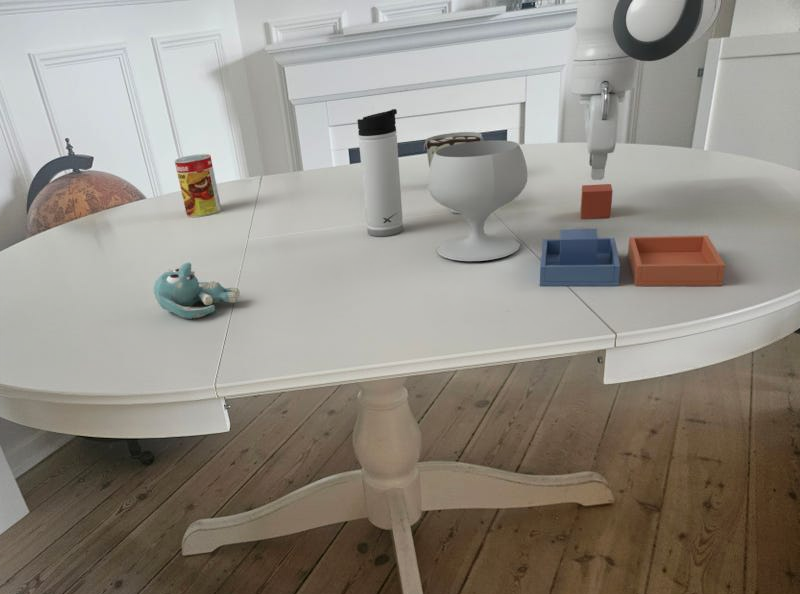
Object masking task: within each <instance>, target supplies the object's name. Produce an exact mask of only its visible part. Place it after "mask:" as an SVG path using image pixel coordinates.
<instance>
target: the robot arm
mask: <svg viewBox="0 0 800 594" xmlns="http://www.w3.org/2000/svg"><path fill="white" fill-rule="evenodd" d="M722 3H723V0H577V6H576V16H575V32H576V39H577V43H576V49H575V52H574V55H573V63H572V64H573V65H572V79H571V93H572V94H574V95H579V105H581V106H583V107H582V108H583V124H584V126H583V127H584V133H585V138H586V146H587V152H588V154H589V156H588V157H589V159H588V164H589V166H590V167H591V172H590V179H592V180H593V181H601V180H604V178H605V170H606V169H605V168H606V166H607V161H608V155H609V154H613V153H614V152H615V150H616V145H617V138H618V137H617V135H618V123H619V110H620V109H619V108H620V103H622V102H624V101H625V100H626V92H628V91H631V90H634V89H635V88H636V82H637V72H638V62H639V61H641V62H655V61H660V60H663V59H665V58H668V57H669V56H672V55H674V54H675V53H677V52H678V51H679V50H680V49H681V48H684V47H686V46H688V45H690V44H691V43H693V42H695V41H697V40H698V39H700V38H701V37H702V36H704V35H705V34H706V33H707V32H708V31H709V30H710V29H711V28H712V27H713V25H714V23H715V22H716V20H717V18H718V16H719V14H720V12H721V8H722Z"/></svg>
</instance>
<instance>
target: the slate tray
mask: <svg viewBox="0 0 800 594" xmlns="http://www.w3.org/2000/svg"><path fill="white" fill-rule="evenodd" d="M559 258H560V238H543V239H542V246H541V256H540V266H539V268H540V269H539V287H619V285H620V276H621V275H620V274H621V264H620V259H619V252H618V247H617V243H616V238H615V237H598V247H597V260H596V265H559Z"/></svg>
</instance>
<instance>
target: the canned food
mask: <svg viewBox="0 0 800 594" xmlns="http://www.w3.org/2000/svg"><path fill="white" fill-rule="evenodd" d="M174 165H175V169H176V174H177V178H178V182H179V187H180V191H181V195H182V200H183V204H184V208H185V209H184V210H185V213H186V216H187V217H189V218H201V217H206V216H212V215H215V214H218V213H219V212H221V211H222V205H221V202H220V196H219V191H218V190H219V189H218V186H217V180H216V176H215V171H214V166H213V161H212V156H211V154H209V153H201V154H199V153H198V154H192V155H186V156H182V157H179V158H176V159H175V160H174Z"/></svg>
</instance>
